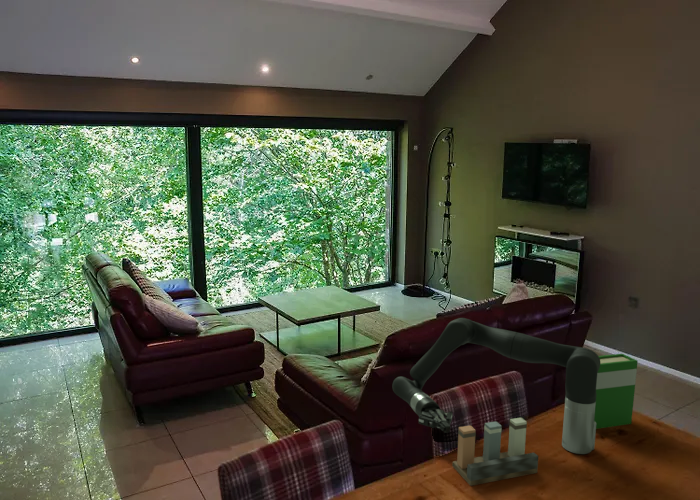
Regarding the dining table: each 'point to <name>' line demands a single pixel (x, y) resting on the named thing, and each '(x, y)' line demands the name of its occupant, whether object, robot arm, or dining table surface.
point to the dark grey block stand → (498, 468)
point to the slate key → (492, 441)
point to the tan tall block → (466, 446)
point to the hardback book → (615, 390)
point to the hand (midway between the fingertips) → (447, 429)
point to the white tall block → (517, 437)
